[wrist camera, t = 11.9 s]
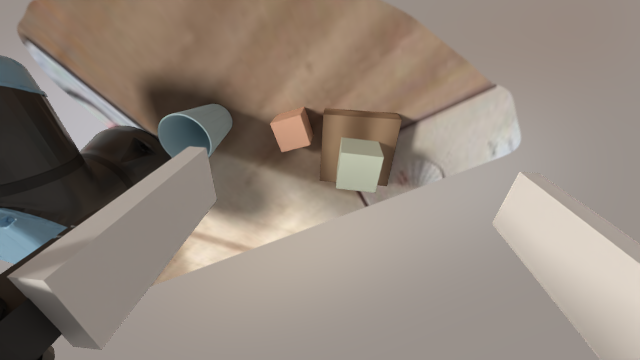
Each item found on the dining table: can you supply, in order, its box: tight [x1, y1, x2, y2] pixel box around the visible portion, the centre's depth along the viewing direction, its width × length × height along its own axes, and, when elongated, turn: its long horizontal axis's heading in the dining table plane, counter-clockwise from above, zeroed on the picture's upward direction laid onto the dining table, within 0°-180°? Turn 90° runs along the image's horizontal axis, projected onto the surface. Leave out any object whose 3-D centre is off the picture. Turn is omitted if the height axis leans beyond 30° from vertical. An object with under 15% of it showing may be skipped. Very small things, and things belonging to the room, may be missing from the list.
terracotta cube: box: [270, 107, 313, 152], centre depth 40 cm, size 5×5×5 cm
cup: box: [158, 104, 232, 159], centre depth 38 cm, size 8×8×10 cm
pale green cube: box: [336, 137, 384, 193], centre depth 38 cm, size 6×6×6 cm
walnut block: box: [320, 109, 402, 186], centre depth 42 cm, size 12×12×4 cm
